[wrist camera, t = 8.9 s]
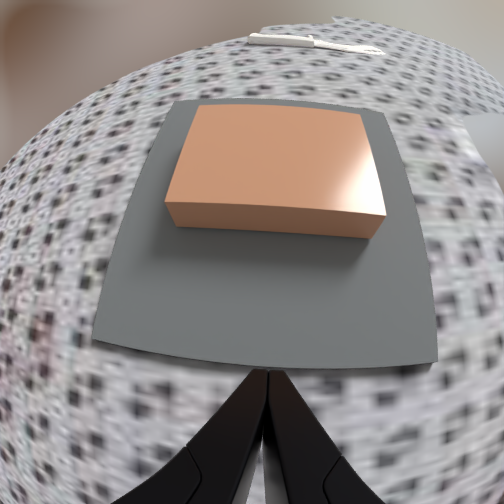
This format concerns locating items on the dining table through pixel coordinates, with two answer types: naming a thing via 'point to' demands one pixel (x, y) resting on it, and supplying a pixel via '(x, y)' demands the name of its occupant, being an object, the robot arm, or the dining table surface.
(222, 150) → the tile
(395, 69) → the dining table surface
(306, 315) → the mat
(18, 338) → the dining table surface
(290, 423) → the robot arm
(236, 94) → the dining table surface
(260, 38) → the knife
